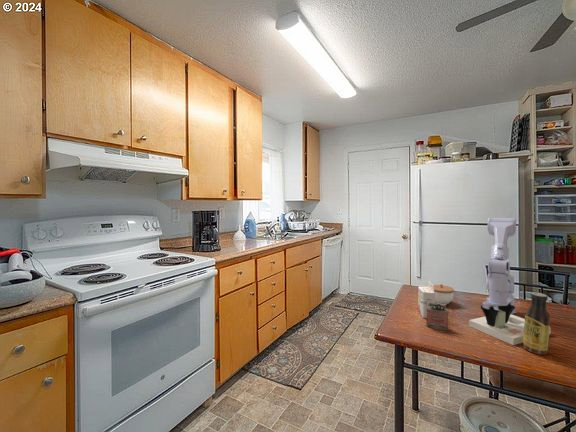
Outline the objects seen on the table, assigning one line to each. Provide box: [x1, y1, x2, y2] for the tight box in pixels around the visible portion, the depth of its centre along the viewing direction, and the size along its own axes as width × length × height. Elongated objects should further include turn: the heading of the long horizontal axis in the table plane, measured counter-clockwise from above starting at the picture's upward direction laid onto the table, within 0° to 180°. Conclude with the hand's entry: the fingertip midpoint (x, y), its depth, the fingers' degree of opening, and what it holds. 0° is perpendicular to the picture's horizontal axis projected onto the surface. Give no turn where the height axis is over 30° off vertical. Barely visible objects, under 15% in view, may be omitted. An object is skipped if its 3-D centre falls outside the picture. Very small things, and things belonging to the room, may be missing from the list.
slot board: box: [468, 314, 552, 346], centre depth 106 cm, size 22×16×3 cm
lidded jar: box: [431, 284, 455, 306], centre depth 135 cm, size 11×11×9 cm
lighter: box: [425, 302, 450, 331], centre depth 108 cm, size 8×3×10 cm, turn 71°
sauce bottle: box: [522, 291, 551, 356], centre depth 90 cm, size 7×6×20 cm
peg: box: [494, 308, 505, 329], centre depth 105 cm, size 4×4×8 cm
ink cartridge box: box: [417, 280, 435, 319], centre depth 121 cm, size 9×5×15 cm, turn 168°
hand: (497, 323), depth 105 cm, fingers open, 7 cm apart
